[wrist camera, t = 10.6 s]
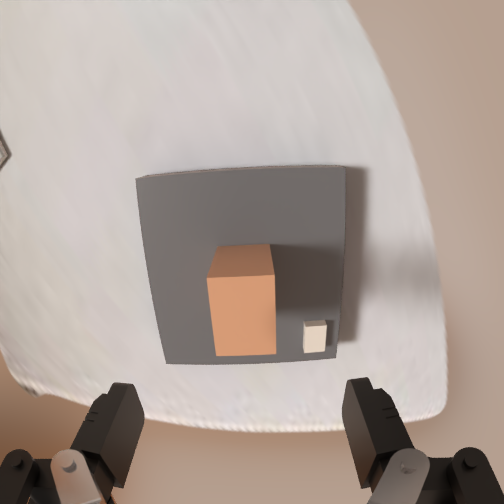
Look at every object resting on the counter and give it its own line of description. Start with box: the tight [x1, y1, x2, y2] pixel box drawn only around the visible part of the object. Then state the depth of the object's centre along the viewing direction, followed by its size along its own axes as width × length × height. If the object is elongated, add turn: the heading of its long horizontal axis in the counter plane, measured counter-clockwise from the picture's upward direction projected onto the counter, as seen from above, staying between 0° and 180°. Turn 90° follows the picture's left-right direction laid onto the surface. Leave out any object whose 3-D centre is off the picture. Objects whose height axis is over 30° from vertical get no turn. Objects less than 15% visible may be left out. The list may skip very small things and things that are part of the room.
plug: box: [207, 244, 276, 356], centre depth 21 cm, size 5×4×8 cm
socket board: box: [136, 165, 346, 365], centre depth 23 cm, size 15×14×3 cm
